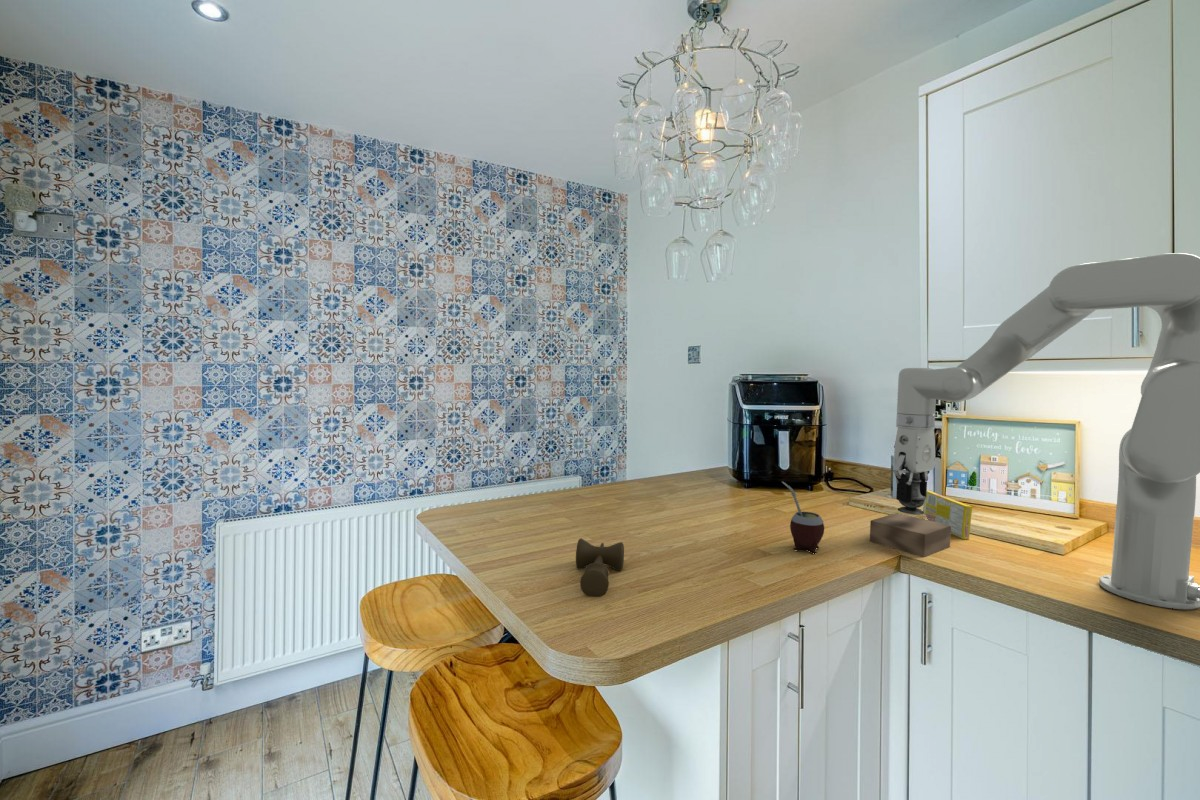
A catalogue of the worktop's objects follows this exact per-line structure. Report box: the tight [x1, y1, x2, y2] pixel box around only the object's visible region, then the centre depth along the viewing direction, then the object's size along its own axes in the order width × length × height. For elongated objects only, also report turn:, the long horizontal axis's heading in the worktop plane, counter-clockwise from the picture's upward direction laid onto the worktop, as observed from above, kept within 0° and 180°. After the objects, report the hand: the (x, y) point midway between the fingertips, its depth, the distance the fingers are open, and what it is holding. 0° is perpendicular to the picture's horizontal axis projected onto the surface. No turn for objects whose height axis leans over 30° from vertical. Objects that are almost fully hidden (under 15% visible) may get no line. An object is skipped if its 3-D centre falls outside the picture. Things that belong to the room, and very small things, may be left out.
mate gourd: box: [781, 481, 825, 555], centre depth 115 cm, size 8×8×15 cm
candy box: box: [922, 490, 973, 540], centre depth 131 cm, size 16×2×8 cm, turn 179°
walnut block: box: [869, 512, 952, 558], centre depth 119 cm, size 12×12×5 cm
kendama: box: [575, 538, 625, 598], centre depth 100 cm, size 6×10×20 cm
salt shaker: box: [897, 468, 926, 516], centre depth 119 cm, size 6×6×12 cm
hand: (911, 498), depth 119 cm, fingers closed on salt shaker, 5 cm apart
